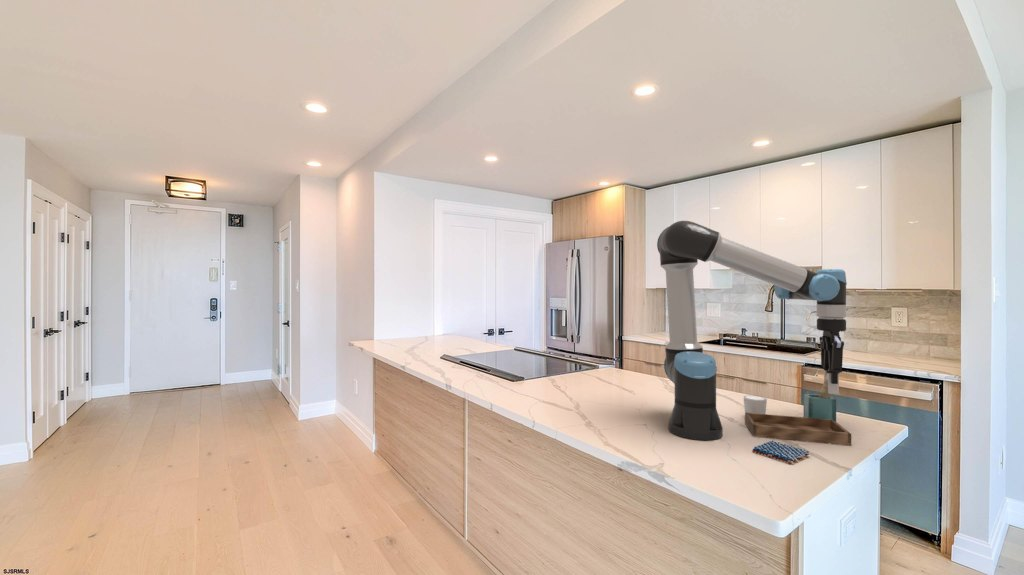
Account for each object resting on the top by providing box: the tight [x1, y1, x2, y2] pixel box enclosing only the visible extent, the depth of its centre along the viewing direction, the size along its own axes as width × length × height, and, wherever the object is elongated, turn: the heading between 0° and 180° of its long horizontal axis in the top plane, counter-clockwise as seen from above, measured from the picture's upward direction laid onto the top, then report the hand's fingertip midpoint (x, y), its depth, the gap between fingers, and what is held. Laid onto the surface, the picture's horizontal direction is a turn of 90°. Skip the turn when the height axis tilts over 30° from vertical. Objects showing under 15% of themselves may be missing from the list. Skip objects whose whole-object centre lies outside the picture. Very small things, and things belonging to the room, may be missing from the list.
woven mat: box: [751, 439, 811, 465], centre depth 115 cm, size 10×11×2 cm
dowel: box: [818, 369, 831, 398], centre depth 139 cm, size 7×3×18 cm, turn 71°
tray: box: [744, 412, 852, 447], centre depth 131 cm, size 24×14×3 cm, turn 71°
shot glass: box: [743, 395, 768, 414], centre depth 146 cm, size 7×7×7 cm
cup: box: [803, 393, 837, 422], centre depth 140 cm, size 7×6×9 cm
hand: (831, 392), depth 139 cm, fingers closed on dowel, 2 cm apart
